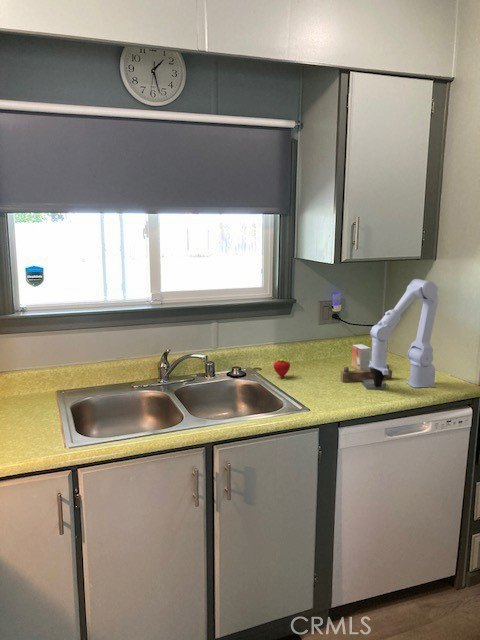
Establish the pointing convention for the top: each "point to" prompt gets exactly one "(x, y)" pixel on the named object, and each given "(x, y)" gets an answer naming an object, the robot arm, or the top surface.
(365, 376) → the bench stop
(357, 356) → the small box
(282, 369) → the strawberry
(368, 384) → the steel plate
